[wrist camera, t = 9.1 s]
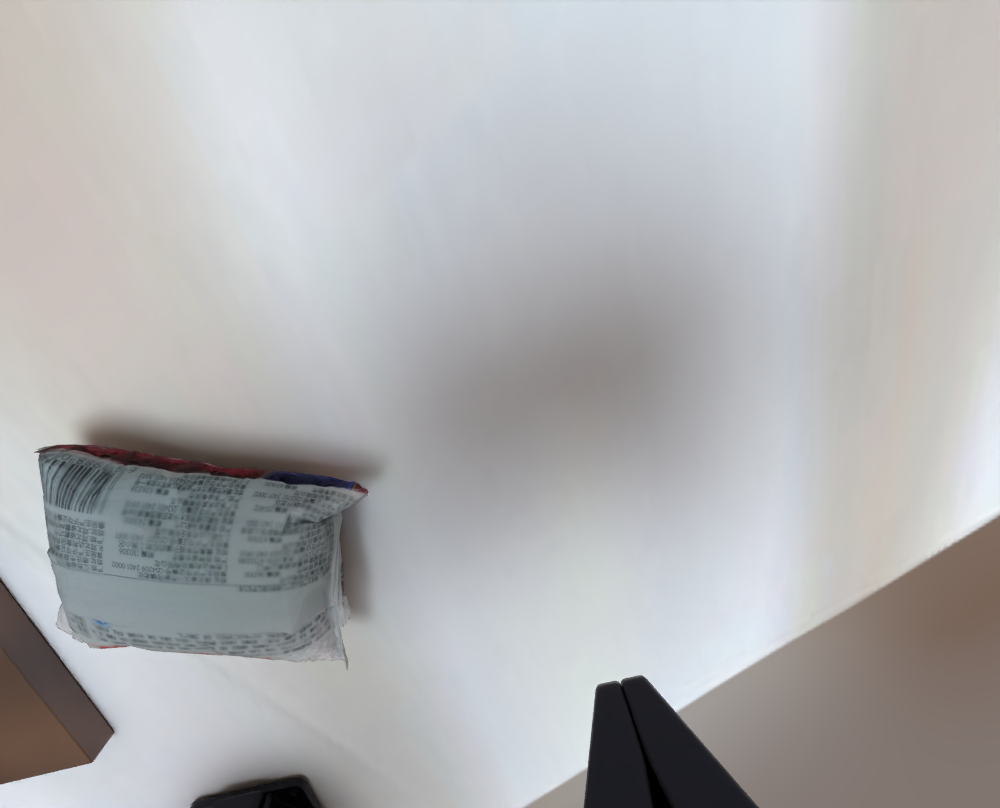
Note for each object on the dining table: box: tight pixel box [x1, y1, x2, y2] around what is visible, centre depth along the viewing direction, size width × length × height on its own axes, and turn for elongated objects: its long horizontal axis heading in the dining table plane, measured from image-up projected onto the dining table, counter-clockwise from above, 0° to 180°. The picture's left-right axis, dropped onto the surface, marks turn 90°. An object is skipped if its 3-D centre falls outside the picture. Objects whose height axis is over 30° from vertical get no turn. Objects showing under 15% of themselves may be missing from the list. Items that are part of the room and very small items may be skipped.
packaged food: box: [34, 445, 368, 670], centre depth 18 cm, size 9×12×5 cm
